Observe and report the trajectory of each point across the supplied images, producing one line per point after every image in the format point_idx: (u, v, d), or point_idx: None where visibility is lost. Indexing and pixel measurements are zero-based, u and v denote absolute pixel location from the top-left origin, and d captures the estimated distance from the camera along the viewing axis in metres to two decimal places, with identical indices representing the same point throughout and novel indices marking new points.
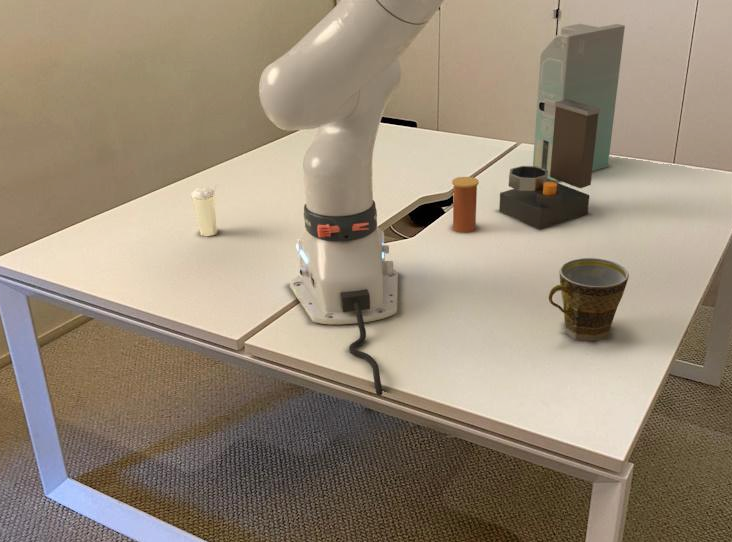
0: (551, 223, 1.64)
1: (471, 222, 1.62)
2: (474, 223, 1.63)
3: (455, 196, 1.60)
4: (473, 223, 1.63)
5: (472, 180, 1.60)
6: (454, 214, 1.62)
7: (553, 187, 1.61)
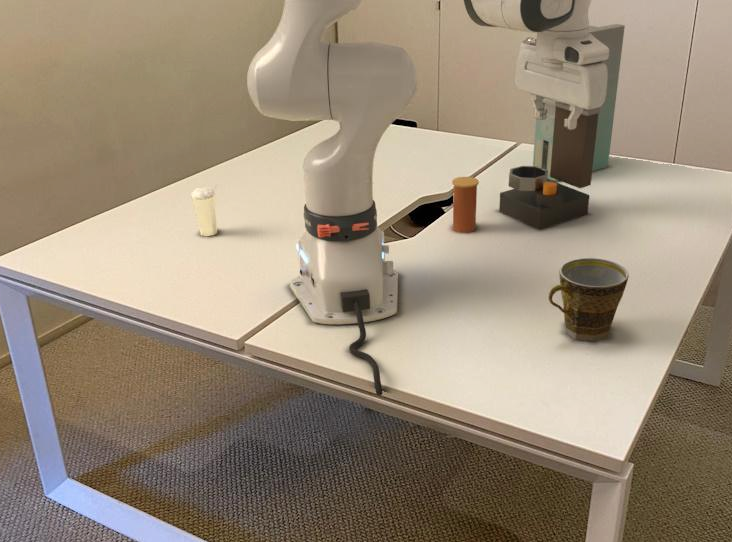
0: (551, 223, 1.64)
1: (471, 222, 1.62)
2: (474, 223, 1.63)
3: (455, 196, 1.60)
4: (473, 223, 1.63)
5: (472, 180, 1.60)
6: (454, 214, 1.62)
7: (553, 187, 1.61)
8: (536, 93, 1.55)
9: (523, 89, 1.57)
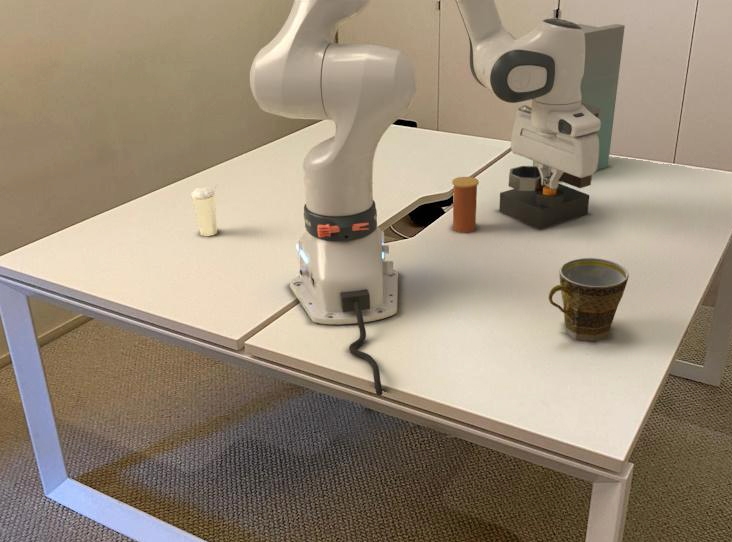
0: (551, 223, 1.64)
1: (471, 222, 1.62)
2: (474, 223, 1.63)
3: (455, 196, 1.60)
4: (473, 223, 1.63)
5: (472, 180, 1.60)
6: (454, 214, 1.62)
7: (552, 191, 1.62)
8: (531, 158, 1.62)
9: (519, 153, 1.64)
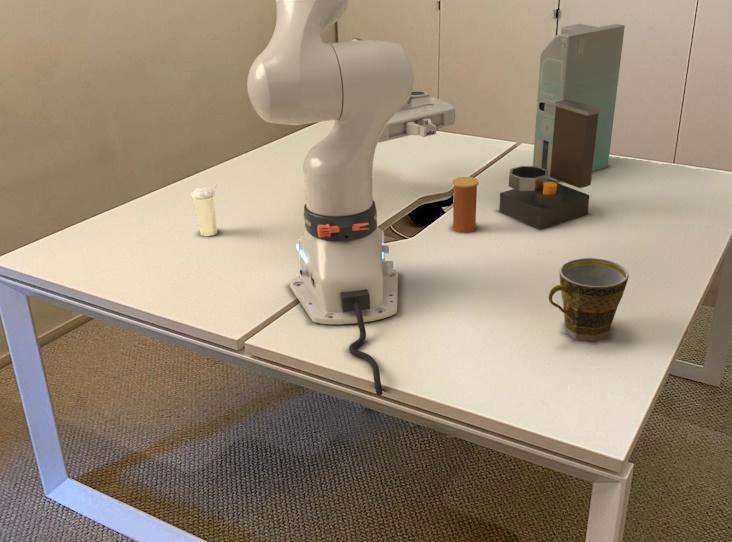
0: (551, 223, 1.64)
1: (471, 222, 1.62)
2: (474, 223, 1.63)
3: (455, 196, 1.60)
4: (473, 223, 1.63)
5: (472, 180, 1.60)
6: (454, 214, 1.62)
7: (553, 187, 1.61)
8: (400, 119, 1.65)
9: None
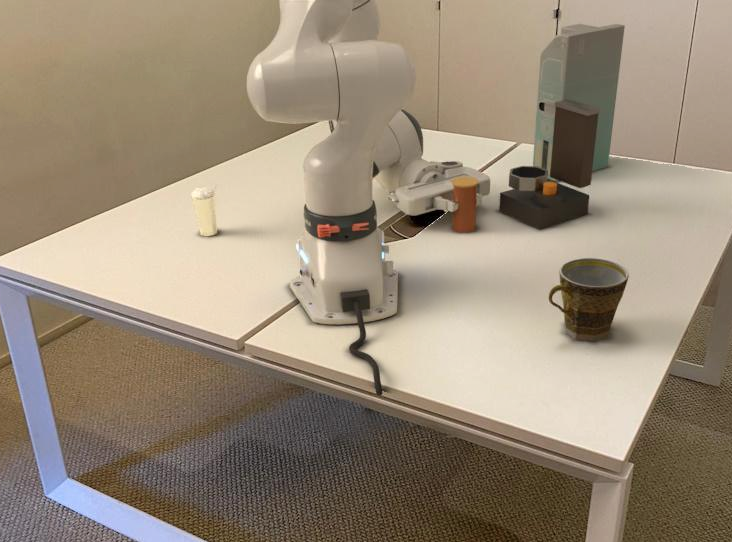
0: (551, 223, 1.64)
1: (471, 222, 1.62)
2: (474, 223, 1.63)
3: (455, 196, 1.60)
4: (473, 223, 1.63)
5: (471, 180, 1.60)
6: (454, 214, 1.62)
7: (553, 187, 1.61)
8: (436, 192, 1.62)
9: (421, 196, 1.61)
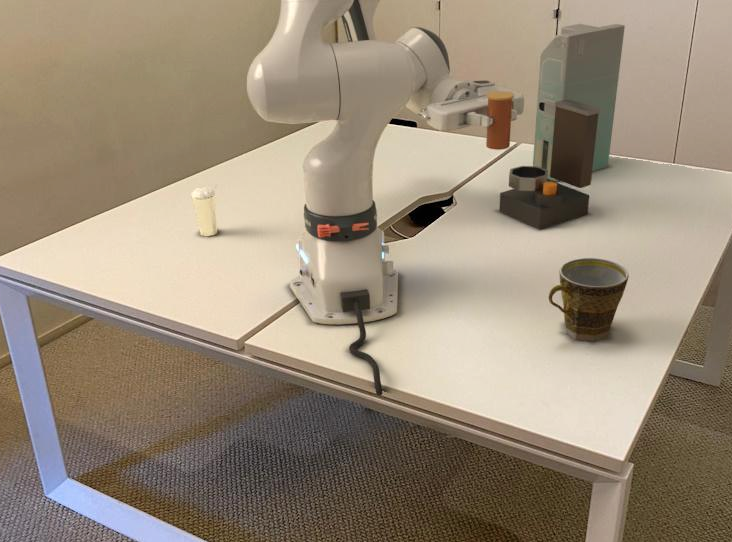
0: (551, 223, 1.64)
1: (505, 138, 1.57)
2: (508, 140, 1.58)
3: (489, 110, 1.55)
4: (508, 140, 1.57)
5: (507, 93, 1.54)
6: (488, 130, 1.57)
7: (553, 187, 1.61)
8: (470, 107, 1.57)
9: (455, 110, 1.55)
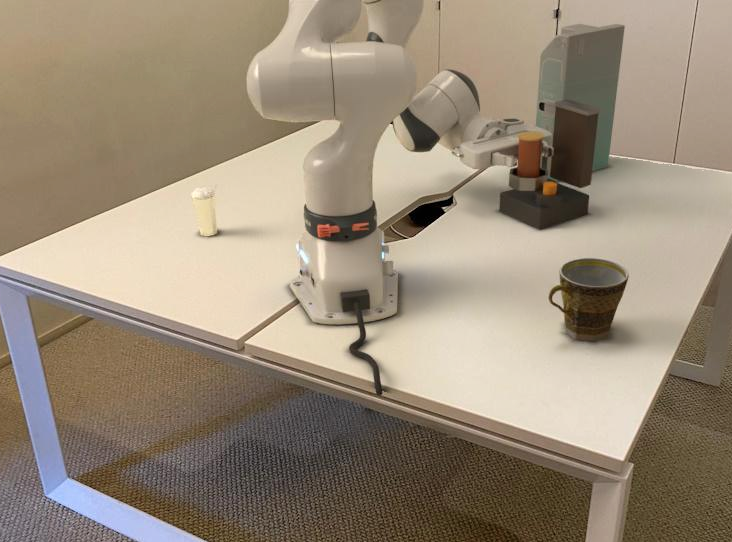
0: (551, 223, 1.64)
1: (535, 176, 1.64)
2: None
3: (520, 150, 1.62)
4: None
5: (537, 134, 1.62)
6: (518, 169, 1.65)
7: (553, 187, 1.61)
8: (502, 146, 1.64)
9: (487, 149, 1.63)
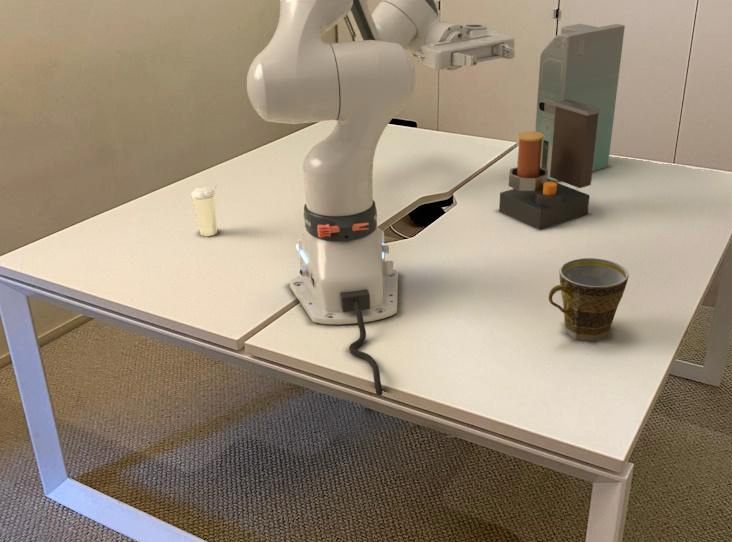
0: (551, 223, 1.64)
1: (535, 176, 1.64)
2: None
3: (520, 150, 1.62)
4: None
5: (537, 134, 1.62)
6: (518, 169, 1.65)
7: (553, 187, 1.61)
8: (462, 46, 1.64)
9: (448, 49, 1.63)
